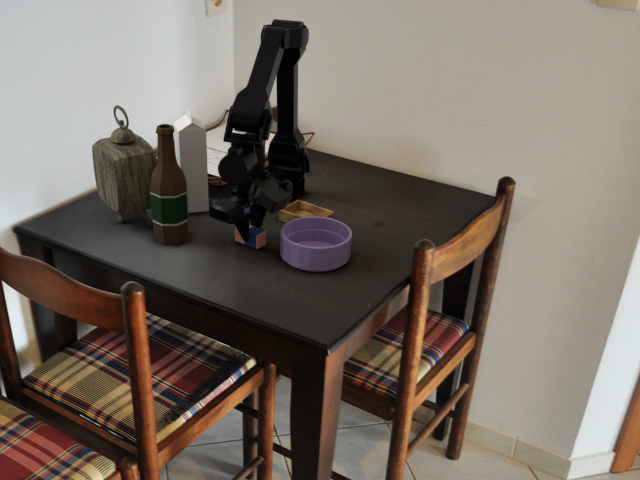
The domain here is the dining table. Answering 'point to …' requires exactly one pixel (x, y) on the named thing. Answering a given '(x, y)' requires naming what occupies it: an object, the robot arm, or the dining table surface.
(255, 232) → the eraser
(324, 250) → the bowl
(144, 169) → the tabletop clock
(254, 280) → the dining table surface
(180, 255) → the dining table surface
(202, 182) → the milk
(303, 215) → the tray
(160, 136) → the beer bottle
